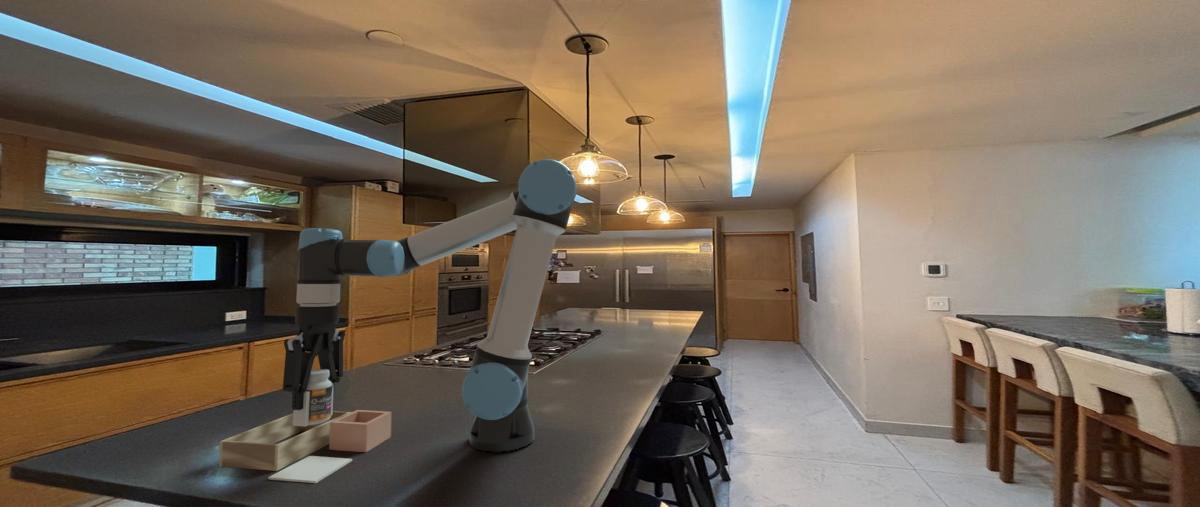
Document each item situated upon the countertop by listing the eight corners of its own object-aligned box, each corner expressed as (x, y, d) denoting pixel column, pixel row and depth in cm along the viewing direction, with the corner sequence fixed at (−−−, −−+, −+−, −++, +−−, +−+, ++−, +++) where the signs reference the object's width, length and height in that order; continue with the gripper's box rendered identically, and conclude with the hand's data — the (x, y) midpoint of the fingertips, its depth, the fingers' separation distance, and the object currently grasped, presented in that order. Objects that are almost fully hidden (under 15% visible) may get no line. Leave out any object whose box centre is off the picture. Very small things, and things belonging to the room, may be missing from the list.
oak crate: (302, 429, 111) (303, 409, 111) (350, 432, 109) (351, 412, 110) (219, 466, 90) (220, 441, 90) (277, 470, 88) (278, 445, 89)
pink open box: (390, 437, 107) (391, 411, 107) (366, 452, 98) (367, 424, 98) (356, 434, 108) (357, 409, 108) (329, 449, 99) (330, 422, 99)
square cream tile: (352, 460, 93) (352, 458, 93) (315, 483, 83) (315, 481, 83) (309, 457, 95) (309, 455, 95) (268, 479, 85) (268, 477, 85)
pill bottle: (314, 427, 86) (316, 375, 86) (290, 424, 87) (291, 373, 88) (337, 417, 92) (339, 369, 92) (314, 415, 93) (315, 367, 93)
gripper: (334, 301, 100) (330, 405, 99) (260, 307, 82) (254, 435, 81) (365, 302, 99) (361, 407, 98) (297, 308, 81) (291, 438, 80)
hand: (313, 419), depth 89 cm, fingers closed on pill bottle, 6 cm apart
